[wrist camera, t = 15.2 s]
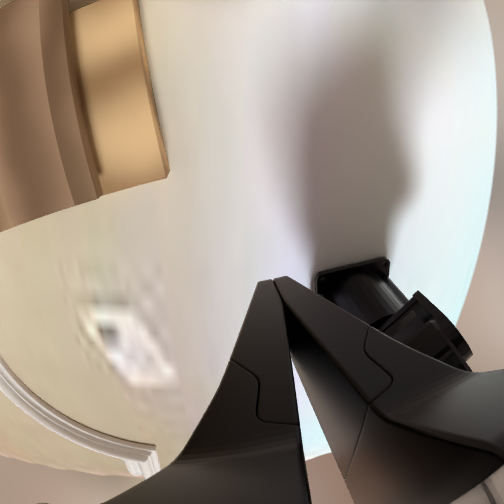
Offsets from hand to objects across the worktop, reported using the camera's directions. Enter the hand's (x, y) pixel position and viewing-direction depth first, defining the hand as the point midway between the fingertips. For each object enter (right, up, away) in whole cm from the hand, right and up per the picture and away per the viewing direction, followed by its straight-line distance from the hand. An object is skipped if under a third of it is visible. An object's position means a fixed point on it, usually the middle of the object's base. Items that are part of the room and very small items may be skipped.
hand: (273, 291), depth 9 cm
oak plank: (-9, +11, +7) cm, 16 cm away
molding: (-28, -20, +21) cm, 40 cm away
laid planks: (-17, +10, +6) cm, 21 cm away
